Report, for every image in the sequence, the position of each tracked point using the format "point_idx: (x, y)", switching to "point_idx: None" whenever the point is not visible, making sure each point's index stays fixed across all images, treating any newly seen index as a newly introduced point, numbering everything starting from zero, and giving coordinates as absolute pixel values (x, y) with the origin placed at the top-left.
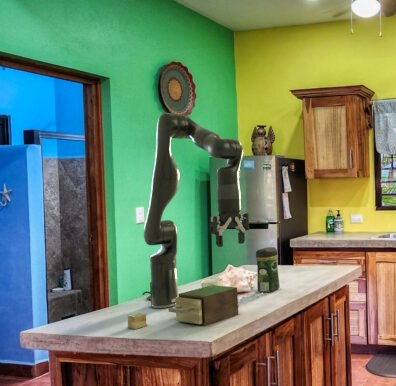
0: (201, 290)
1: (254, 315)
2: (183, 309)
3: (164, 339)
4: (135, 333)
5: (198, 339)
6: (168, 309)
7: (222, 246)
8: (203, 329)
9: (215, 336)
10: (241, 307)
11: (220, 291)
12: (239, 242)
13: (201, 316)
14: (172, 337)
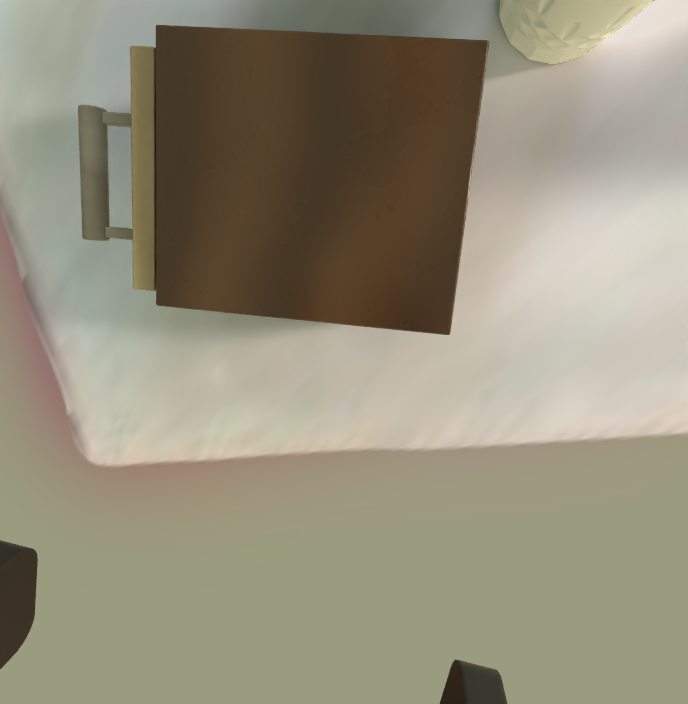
0: (293, 124)
1: (441, 404)
2: (89, 232)
3: (23, 266)
4: (13, 38)
5: (82, 405)
6: (78, 108)
7: (31, 625)
8: (181, 324)
9: (134, 444)
10: (575, 216)
11: (308, 305)
12: (449, 691)
13: None
14: (53, 277)
